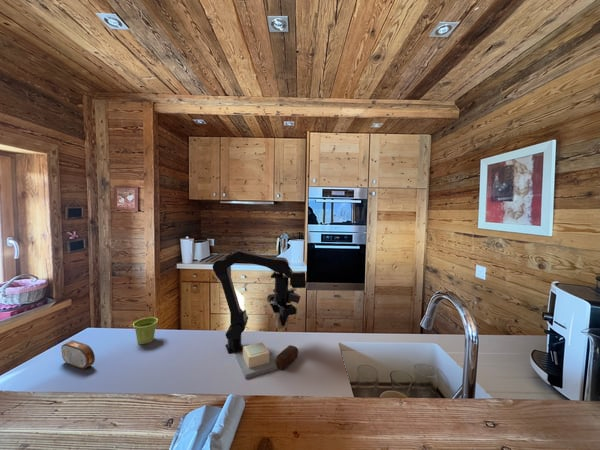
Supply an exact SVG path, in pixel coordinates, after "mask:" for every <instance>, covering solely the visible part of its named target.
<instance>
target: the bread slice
mask: <svg viewBox="0 0 600 450" xmlns="http://www.w3.org/2000/svg"><path fill="white" fill-rule="evenodd" d="M61 357H62V359H63V361H64V362H65V363H66V364H67V365H70V366H73V367H75V368H78V369H81V370H85V369H87V368H88V367H90V366H92V365H93V364H94V363H95V362H96V361H95V360H96V356H95V352H94V350H93V348H92V347H91V346H90V345H88V344H86V343H85V342H84V343H83V342H80V341H78V340H73V339H71V340H69V341H68V342H65V343H64V344H63V345H62V346H61Z"/></svg>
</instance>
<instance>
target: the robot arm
mask: <svg viewBox="0 0 600 450" xmlns="http://www.w3.org/2000/svg"><path fill="white" fill-rule="evenodd" d="M239 261H241V262H245V263H249V264H253V265H258V266H261V267H266V268H268V269H270V270H271V271H273V272H272V273H271V274H270V278H271V279H274V289H272V291H273V294H272V293H271V294H269V295H268V296H267V297H266V300H267V302H268V303H269V306H270V308H271V310H272V312H273V313H277V312H278V315H279V318H280V322H281V325H282V326H285V323H286V320H287V317H288V315H289V316H293V315H297V313H298V308H297V307H296V306H294V305H293V304H292V303H291V302H293V303H295V304H299V303H300V299H301V297H302V296H301V295H299V294H298V293H296V292H295V291H294V289H306V287H307V279H306V272H305V271H301V272H300V271H299V272H296V271H293V269H292V268H291V267H290V263H289V260H288V259H287V258H286V257H282V256H273V257H271V256H265V255H262V254H258V253H254V252H253V253H252V252H249V251H244V250H243V249H237V250H236V251H234V253H231V254H230V255H228V256H227V257H220V258H219V259H217V260H215V262H213V264H212V271H213V272H214V274H215V276H216V278H217V279H218V281H220V285H221V286H222V290H223V294H224V296H225V300H226V304H227V307H228V310H229V313H230V324H229V326H228V329H227V330H226V332H225V338H226V339H227V344H225V345H224V346H225V348H226V350H227V351H226V352H227V354H230V353H232V354H233V353H235V352H240V351H243V347H244V346H243V344H242V334H243V333H244V332H245V329H246V328H247V325H248V324H247V323H248V320H249V316H248V314H247V310H246V309H244V310H243V309H242V308H241V306H240V302H239V299H238V296H237V293H236V289H235V285H234V283H233V279H232V266H233V265H234V264H237V262H239ZM289 286H290V287H291V288H292V289H291V288H289Z"/></svg>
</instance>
